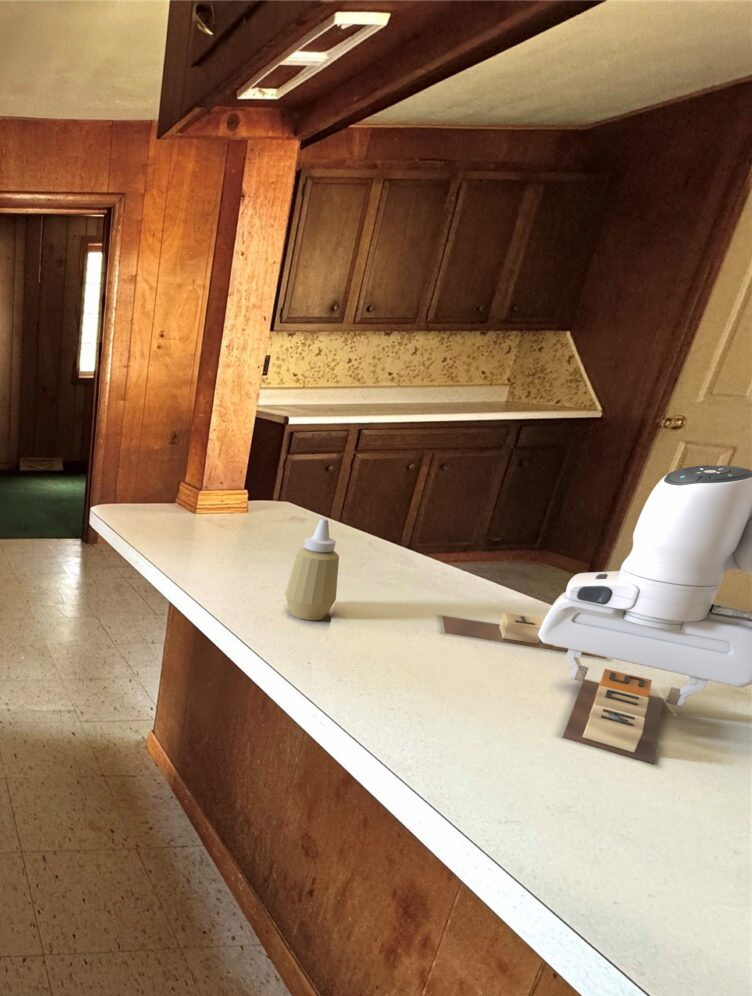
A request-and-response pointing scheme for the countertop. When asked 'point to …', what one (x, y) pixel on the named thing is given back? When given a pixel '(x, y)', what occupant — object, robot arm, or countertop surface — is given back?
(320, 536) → the squeeze bottle
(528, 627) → the back rack
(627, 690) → the s tile
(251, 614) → the countertop surface
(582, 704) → the front rack
